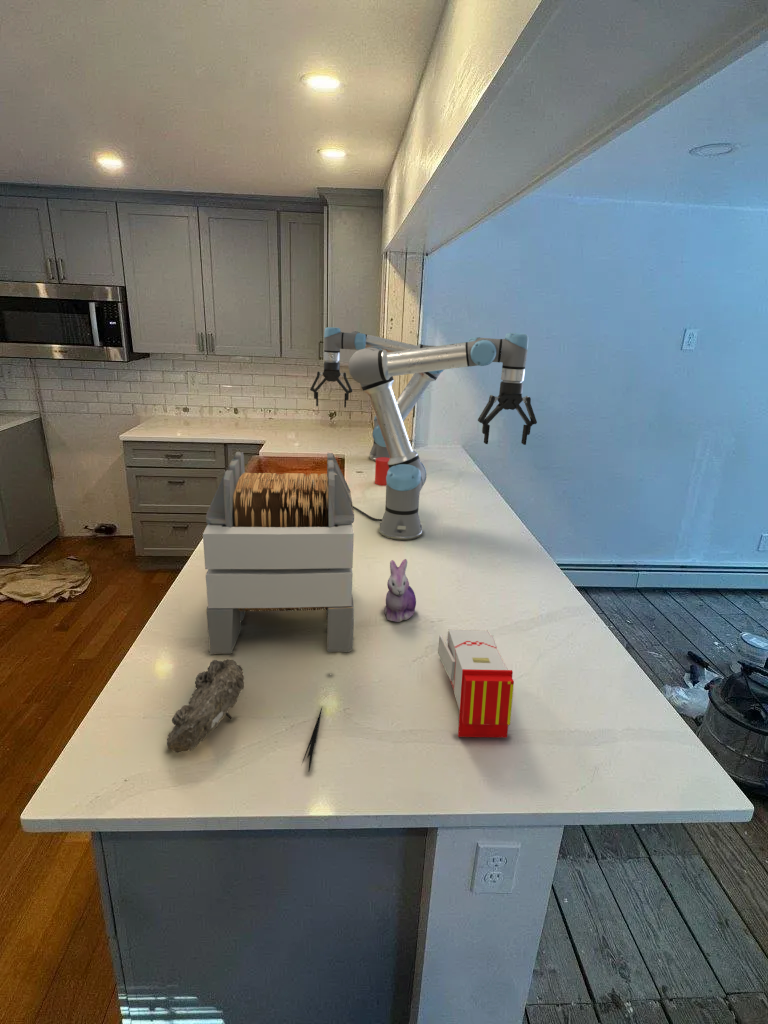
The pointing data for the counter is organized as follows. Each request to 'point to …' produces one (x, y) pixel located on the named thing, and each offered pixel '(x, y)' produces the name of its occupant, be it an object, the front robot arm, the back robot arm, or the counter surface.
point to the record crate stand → (279, 550)
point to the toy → (478, 682)
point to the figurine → (399, 594)
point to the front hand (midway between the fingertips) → (504, 443)
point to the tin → (381, 470)
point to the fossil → (206, 705)
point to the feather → (313, 740)
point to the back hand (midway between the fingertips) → (331, 406)
